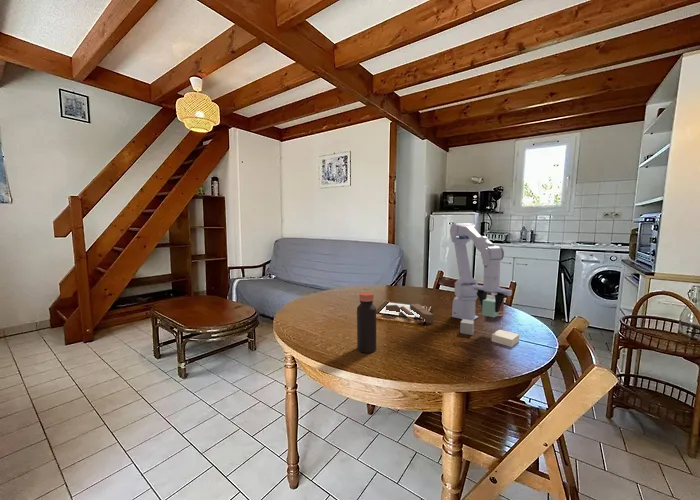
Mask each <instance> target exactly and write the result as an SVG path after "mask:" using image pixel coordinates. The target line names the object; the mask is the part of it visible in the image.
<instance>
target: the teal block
mask: <svg viewBox="0 0 700 500" xmlns="http://www.w3.org/2000/svg"><path fill="white" fill-rule="evenodd" d="M495 306H496V302H495V299H490V298H489V297H486V299H484V300H483V303H482V306H481V310H482V311H481V313H482V316H485V317H490V318H496V317H498V316H497V315H498V312H495Z"/></svg>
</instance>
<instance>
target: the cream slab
mask: <svg viewBox="0 0 700 500" xmlns="http://www.w3.org/2000/svg"><path fill="white" fill-rule="evenodd" d="M491 342H494V343H496V344H499V345H500V344H501V345H504V346H506V347H507V346H508V347H511V348H513V347H514V346H515V345H516V344H518V343H519V342H520V334H519V333H515V332H512V331H511V332H510V331H507V330H502V329H498V330H496V331H495V332H493V333H492V334H491Z"/></svg>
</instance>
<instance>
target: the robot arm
mask: <svg viewBox="0 0 700 500" xmlns="http://www.w3.org/2000/svg"><path fill="white" fill-rule="evenodd" d="M476 226H477V225H475V223H473V222H467V223H466V222H464V223H463V222H461V223H457V222H453V223H452V224H451V226H450V229H449V233H450V238H451V239H450V240H451V242H452V243H453V245H454V251H455V257H456V263H457V270H458V274H459V278H458V279H456V281H455V282H454V295H455V297H454V298H453V300H452V306H451V307H452V315H451V317H452V318H456V319H461V320H462V319H466V320H472V321H475V320H476V319H478V318H479V315H476V300H478V299H479V302H480V305H481V307H482V303H483V300H484V299H486V298H488V297H487V295H488V293H490V294H491V293H497V294H496V295H495V302H496V306H495V312H499V310H500V306H501V304H502V301H503V300H504V301H505V298H506V297H507V296H508V297H511V296H512V295H513V290H512V289H506V288H504V287H500V281H501V280H500V276H501V261H502V260H503V259H504V256H505V252H504V251H505V250H504V248H503V247H502V246H501V245H495V244H494V243H493V242H492V241H491V240H489V239H488V237H487V236H484V235H481V234H480V233H479V232H478V231H477V227H476ZM470 241H472V242H473V245H474V248H476V250H478V251H479V253H480V257H481V260H482V265H483V285H482V284H481V285H479V283H478V280H477V279H475V278H474V277H472V272H471V268H470V267H471V266H470V262H469V256H468V250H467V243H469V242H470Z"/></svg>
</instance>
